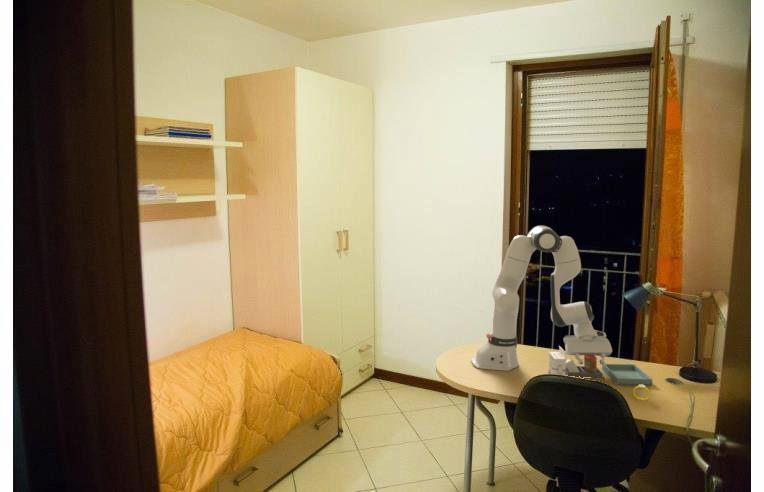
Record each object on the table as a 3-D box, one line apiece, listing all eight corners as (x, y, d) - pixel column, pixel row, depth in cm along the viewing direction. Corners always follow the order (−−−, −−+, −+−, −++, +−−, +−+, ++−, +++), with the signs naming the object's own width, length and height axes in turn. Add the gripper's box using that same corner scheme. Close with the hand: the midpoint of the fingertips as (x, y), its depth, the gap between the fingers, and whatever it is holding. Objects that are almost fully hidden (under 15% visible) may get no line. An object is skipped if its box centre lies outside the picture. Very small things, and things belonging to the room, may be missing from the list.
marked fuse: (587, 376, 215) (587, 357, 213) (584, 373, 219) (584, 354, 217) (596, 376, 214) (596, 357, 213) (593, 372, 218) (593, 354, 217)
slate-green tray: (617, 385, 206) (617, 378, 205) (602, 369, 222) (602, 363, 222) (651, 385, 205) (652, 379, 204) (634, 370, 221) (634, 364, 221)
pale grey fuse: (571, 375, 215) (564, 364, 216) (570, 373, 219) (563, 361, 219) (579, 371, 214) (572, 359, 215) (578, 369, 218) (570, 357, 219)
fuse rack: (568, 378, 213) (568, 373, 213) (562, 370, 221) (562, 365, 221) (602, 378, 212) (602, 373, 212) (595, 371, 220) (596, 366, 220)
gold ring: (632, 399, 193) (632, 385, 193) (633, 396, 196) (633, 383, 195) (649, 402, 190) (649, 388, 190) (650, 399, 192) (650, 385, 192)
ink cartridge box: (547, 375, 216) (548, 345, 214) (558, 375, 216) (559, 345, 214) (553, 384, 208) (555, 352, 205) (565, 384, 207) (566, 352, 205)
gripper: (564, 332, 222) (570, 360, 213) (609, 333, 220) (616, 361, 212) (561, 338, 227) (566, 366, 218) (604, 338, 225) (612, 366, 217)
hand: (591, 363), depth 215 cm, fingers open, 8 cm apart
